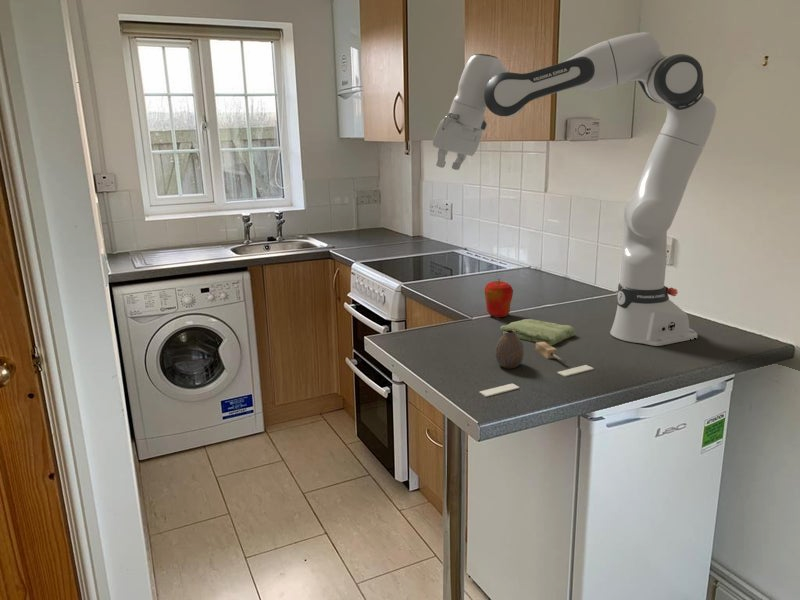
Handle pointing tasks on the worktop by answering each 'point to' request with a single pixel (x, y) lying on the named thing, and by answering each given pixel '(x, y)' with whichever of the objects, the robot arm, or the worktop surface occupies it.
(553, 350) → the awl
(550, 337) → the washcloth
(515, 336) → the vase
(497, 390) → the beige flat strips
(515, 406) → the worktop surface
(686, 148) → the robot arm
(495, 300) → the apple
